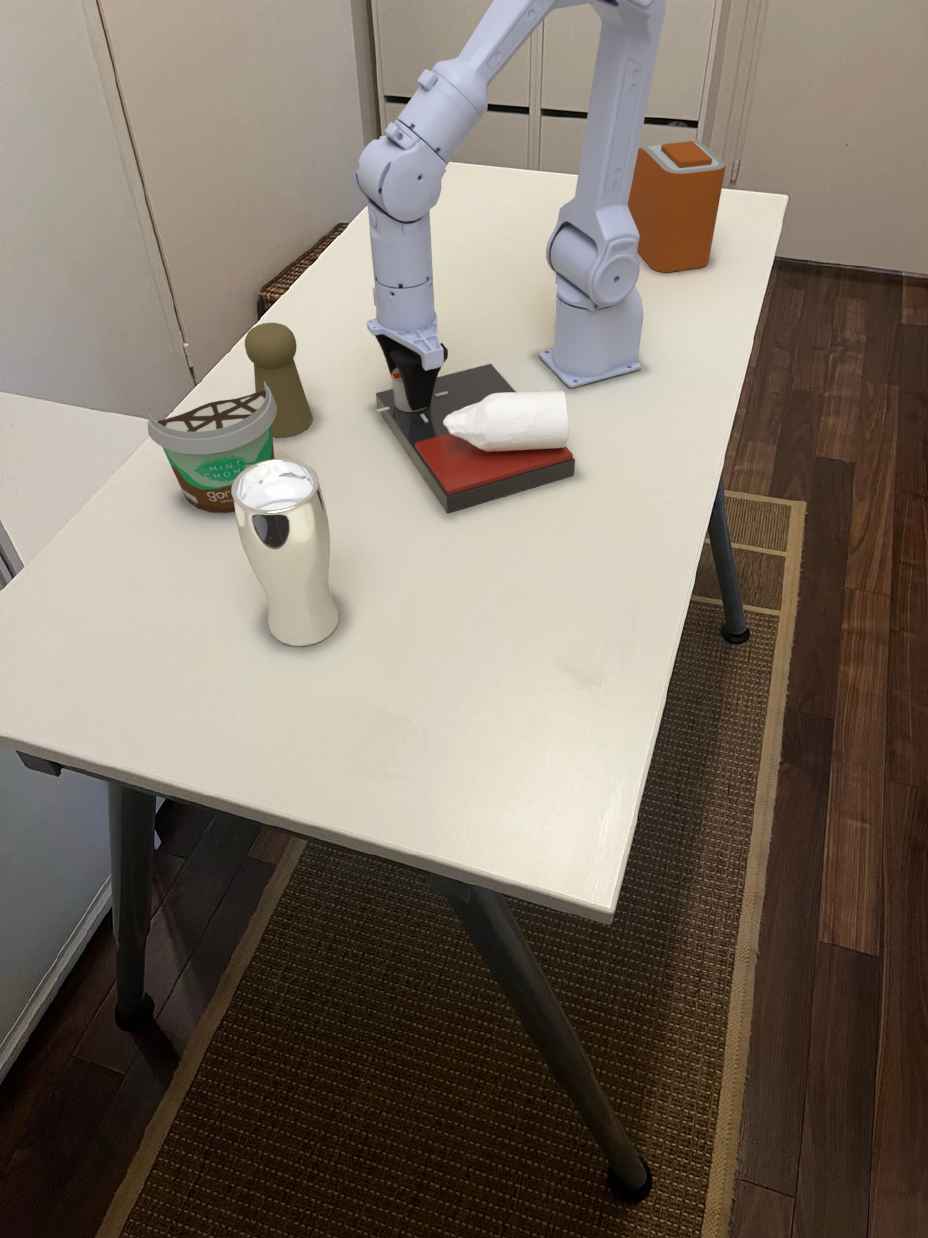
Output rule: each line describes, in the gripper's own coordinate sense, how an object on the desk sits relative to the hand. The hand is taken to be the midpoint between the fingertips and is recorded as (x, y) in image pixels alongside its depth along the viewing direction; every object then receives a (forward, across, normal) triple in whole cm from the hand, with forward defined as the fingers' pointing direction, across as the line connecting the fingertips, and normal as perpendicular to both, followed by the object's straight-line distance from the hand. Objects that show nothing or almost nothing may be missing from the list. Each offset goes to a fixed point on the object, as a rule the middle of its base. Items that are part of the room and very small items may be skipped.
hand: (411, 395), depth 99 cm
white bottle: (0, +12, +5) cm, 13 cm away
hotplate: (+1, +12, +4) cm, 13 cm away
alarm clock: (+3, -24, +47) cm, 53 cm away
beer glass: (+3, +24, -20) cm, 32 cm away
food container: (+3, +6, -21) cm, 22 cm away
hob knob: (+1, 0, 0) cm, 1 cm away
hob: (+3, +6, +4) cm, 8 cm away
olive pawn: (+3, -6, -13) cm, 14 cm away
